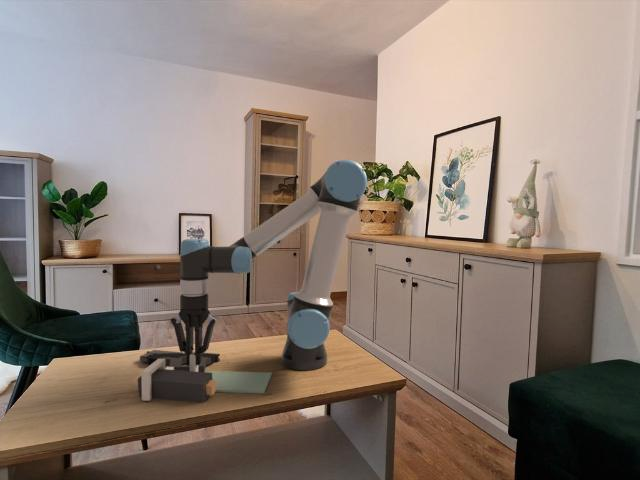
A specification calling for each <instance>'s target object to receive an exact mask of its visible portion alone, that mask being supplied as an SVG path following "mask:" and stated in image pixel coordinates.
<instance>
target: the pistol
mask: <svg viewBox="0 0 640 480" xmlns="http://www.w3.org/2000/svg"><path fill="white" fill-rule="evenodd" d="M220 356H221V353H212V352H204V353H202V362H201V364H200V365H198V372H205V371H206V366H209V365H213V364H214V363H215V362H220V359H221V358H220ZM157 359H165V367H174V370H181V371H190V365H187V355H186V353H185V352H181V351H171V350H161V349H160V350H158V349H153V350H151V351H150V350H147V351H146V353H144V354H142V355H140V356H139V361H140V362H144V363H147V366H149V365H151V364H152V363H153V362H155V361H156V360H157ZM184 364H186V365H184Z"/></svg>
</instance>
